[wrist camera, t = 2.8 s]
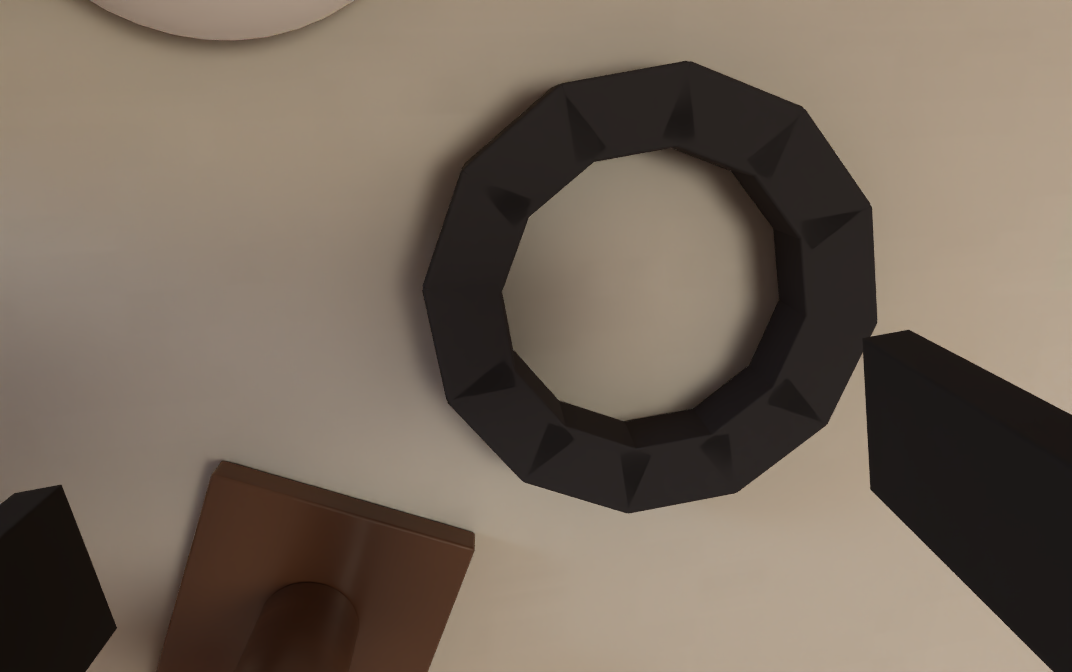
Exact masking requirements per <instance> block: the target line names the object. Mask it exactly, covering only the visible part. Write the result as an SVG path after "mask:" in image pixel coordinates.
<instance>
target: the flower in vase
mask: <svg viewBox="0 0 1072 672" xmlns="http://www.w3.org/2000/svg"><path fill="white" fill-rule="evenodd" d="M90 1H92V2H93V3H95V4H97V5H98V6H100V7H102V8H103V9H105V10H107V11H109V12H111V13H114V14H116V15H118V16H120V17H123V18H125V19H127V20H130V21H132V22H134V23H137V24H139V25H142V26H145V27H149V28H152V29H156V30H159V31H162V32H166V33H169V34H173V35H179V36H185V37H192V38H198V39H204V40H245V39H254V38H263V37H270V36H273V35H277V34H281V33H285V32H289V31H293V30H296V29H300V28H302V27H304V26H307V25H309V24H311V23H314V22H316V21H319V20H321V19H323V18H326V17H328V16H330V15H331V14H333V13H335V12H336V11H338V10H340V9H341V8H343V7H345V6H346V5H348V4H349V3H351V2H353V1H354V0H90Z"/></svg>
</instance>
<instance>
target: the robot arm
mask: <svg viewBox="0 0 1072 672" xmlns="http://www.w3.org/2000/svg"><path fill="white" fill-rule="evenodd" d="M862 340H863V359H864V377H865V396H866V415H867V433H868V452H869V470H870V489H871V490H872V491H873V492H874V493H875V494H876V495H877V496H878V497H879V498H880V499H881V500H882V501H883V502H884V503H885V504H886V505H887V506H888V507H889V508H890V509H891V510H892V511H893V512H894V513H895V514H896V515H897V516H898V517H899V518H900V519H901V520H902V521H903V522H904V523H905V524H906V525H907V526H908V527H909V528H910V529H911V530H912V531H913V532H914V533H915V534H916V535H917V536H918V537H919V538H920V539H921V540H922V541H923V542H924V543H925V544H926V545H927V546H928V547H929V548H930V549H931V550H932V551H933V552H934V553H935V554H936V555H937V556H938V557H939V558H940V559H941V560H942V561H943V562H944V563H945V564H946V565H947V566H948V567H949V568H950V569H951V570H952V571H953V572H954V573H955V574H956V575H957V576H958V577H959V578H960V579H961V580H962V581H963V582H964V583H965V584H966V585H967V586H968V587H969V588H970V589H971V590H972V591H973V592H974V593H975V594H976V595H977V596H978V597H979V598H980V599H981V600H982V601H983V602H984V603H985V604H986V605H987V606H988V607H989V608H990V609H991V610H992V611H993V612H994V613H995V614H996V615H997V616H998V617H999V618H1000V619H1001V620H1002V621H1003V622H1004V623H1005V624H1006V625H1007V626H1008V627H1009V628H1010V629H1011V630H1012V631H1013V632H1014V633H1015V634H1016V635H1017V636H1018V637H1019V638H1020V639H1021V640H1022V641H1023V642H1024V643H1025V644H1026V645H1027V646H1028V647H1029V648H1030V649H1031V650H1032V651H1033V652H1034V653H1035V654H1036V655H1037V656H1038V657H1039V658H1040V659H1041V660H1042V661H1043V662H1044V663H1045V664H1046V665H1047V666H1048V667H1049V668H1050V669H1051V670H1052V671H1053V672H1072V415H1071V414H1069V413H1067V412H1065V411H1063V410H1061V409H1059V408H1057V407H1055V406H1054V405H1052V404H1050V403H1048V402H1046V401H1044V400H1042V399H1040V398H1038V397H1036V396H1034V395H1033V394H1031V393H1029V392H1027V391H1025V390H1023V389H1021V388H1019V387H1017V386H1015V385H1013V384H1012V383H1010V382H1008V381H1006V380H1004V379H1002V378H1000V377H998V376H996V375H994V374H992V373H990V372H989V371H987V370H985V369H983V368H981V367H979V366H977V365H975V364H973V363H971V362H969V361H968V360H966V359H964V358H962V357H960V356H958V355H956V354H954V353H952V352H950V351H948V350H947V349H945V348H943V347H941V346H939V345H937V344H935V343H933V342H931V341H929V340H927V339H925V338H924V337H922V336H920V335H918V334H916V333H914V332H912V331H910V330H905V331H900V332H894V333H889V334H883V335H878V336H872V337H867V338H862ZM116 629H117V627H116V624H115V621H114V619H113V616H112V614H111V611H110V609H109V606H108V603H107V601H106V598H105V596H104V593H103V591H102V588H101V585H100V583H99V580H98V578H97V575H96V572H95V570H94V567H93V565H92V562H91V560H90V557H89V554H88V552H87V549H86V547H85V544H84V542H83V539H82V536H81V534H80V531H79V529H78V526H77V523H76V521H75V518H74V516H73V513H72V511H71V508H70V505H69V503H68V500H67V498H66V495H65V493H64V490H63V487H62V485H57V486H51V487H46V488H40V489H35V490H30V491H24V492H19V493H14V494H13V495H12V496H10V497H9V498H8V499H7V500H5V501H4V502H3V503H2V504H0V672H86V670H87V669H88V668H89V666H90V665H91V663H92V662H93V661H94V659H95V658H96V656H97V655H98V654H99V652H100V651H101V650H102V648H103V647H104V645H105V644H106V643H107V641H108V640H109V638H110V637H111V636H112V634H113V633H114V632H115V630H116Z"/></svg>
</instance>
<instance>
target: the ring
mask: <svg viewBox="0 0 1072 672" xmlns="http://www.w3.org/2000/svg"><path fill="white" fill-rule="evenodd" d="M667 148H673V149H676V150H678V151H681V152H684V153H686V154H689V155H691V156H694V157H697V158H699V159H702V160H704V161H707V162H710V163H712V164H715V165H717V166H720V167H722V168H725V169H728V170H730V171H731V172H732V173H733V174H734V176H735V177H736V178H737V180H738V181H739V182H740V184H741V185H742V187H743V188H744V189H745V191H746V192H747V193H748V195H749V196H750V197H751V199H752V200H753V201H754V203H755V204H756V206H757V207H758V208H759V210H760V211H761V212H762V214H763V215H764V216H765V218H766V219H767V220H768V222H769V223H770V224H771V226H772V227H773V229H774V241H775V253H776V265H777V277H778V288H779V301H778V304H777V306H776V308H775V310H774V312H773V315H772V317H771V319H770V321H769V323H768V326H767V328H766V330H765V332H764V334H763V337H762V339H761V341H760V343H759V345H758V348H757V350H756V352H755V354H754V356H753V358H752V361H751V363H750V365H749V366H748V367H747V368H745V369H744V370H743V371H741V372H740V373H739V374H738V375H736V376H735V377H734V378H732V379H731V380H730V381H729V382H727V383H726V384H725V385H723V386H722V387H721V388H720V389H718V390H717V391H716V392H714V393H713V394H712V395H711V396H709V397H708V398H707V399H705V400H704V401H703V402H702V403H700V404H699V405H698V406H696V407H695V408H694V409H691V410H685V411H680V412H675V413H669V414H664V415H659V416H653V417H648V418H643V419H637V420H632V421H627V422H623V421H620V420H617V419H614V418H611V417H607V416H604V415H601V414H598V413H595V412H592V411H589V410H586V409H583V408H580V407H576V406H573V405H570V404H567V403H564V402H561V401H559V400H558V399H557V398H556V397H555V396H554V395H553V394H552V392H551V391H550V390H549V389H548V388H547V387H546V386H545V385H544V384H543V382H542V381H541V380H540V379H539V378H538V377H537V376H536V375H535V373H534V372H533V371H532V370H531V369H530V368H529V367H528V366H527V365H526V363H525V362H524V361H523V360H522V359H521V358H520V357H519V356H518V355H517V353H516V352H515V351H514V350H513V347H512V342H511V336H510V331H509V326H508V321H507V315H506V310H505V305H504V300H503V295H502V290H503V287H504V284H505V282H506V279H507V276H508V273H509V271H510V268H511V265H512V262H513V260H514V257H515V254H516V251H517V249H518V246H519V243H520V240H521V237H522V235H523V232H524V229H525V226H526V224H527V221H528V218H529V217H530V216H531V215H532V214H533V213H534V212H535V211H537V210H538V209H539V208H540V207H541V206H542V205H544V204H545V203H546V202H547V201H548V200H550V199H551V198H552V197H553V196H554V195H555V194H557V193H558V192H559V191H560V190H561V189H563V188H564V187H565V186H566V185H567V184H568V183H570V182H571V181H572V180H573V179H574V178H575V177H577V176H578V175H579V174H580V173H581V172H583V171H584V170H585V169H586V168H587V167H588V166H590V165H591V164H592V163H593V162H596V161H601V160H607V159H612V158H618V157H623V156H629V155H634V154H640V153H645V152H651V151H656V150H662V149H667ZM422 291H423V296H424V300H425V305H426V309H427V314H428V318H429V323H430V327H431V332H432V336H433V341H434V345H435V350H436V355H437V359H438V364H439V368H440V373H441V377H442V382H443V386H444V391H445V395H446V399H447V401H448V404H449V405H450V406H451V407H452V408H453V409H454V410H455V411H456V412H457V413H458V414H459V415H460V416H461V417H462V418H463V419H464V420H465V421H466V422H467V424H468V425H469V426H470V427H471V428H472V429H473V430H474V431H475V432H476V433H477V434H478V435H479V436H480V437H481V438H482V439H483V440H484V441H485V442H486V444H487V445H488V446H489V447H490V448H491V449H492V450H493V451H494V452H495V453H496V454H497V455H498V456H499V457H500V458H501V459H502V460H503V461H504V462H505V464H506V465H507V466H508V467H509V468H510V469H511V470H512V471H513V472H514V473H515V474H516V475H517V476H518V477H519V478H520V479H521V480H522V481H523V482H525V483H528V484H532V485H535V486H538V487H542V488H545V489H548V490H551V491H555V492H558V493H561V494H565V495H568V496H571V497H575V498H578V499H581V500H585V501H588V502H591V503H594V504H598V505H601V506H604V507H608V508H611V509H614V510H618V511H621V512H624V513H633V512H639V511H644V510H649V509H655V508H660V507H665V506H670V505H676V504H681V503H686V502H691V501H697V500H702V499H707V498H713V497H718V496H723V495H728V494H734V493H736V492H738V491H740V490H741V489H742V488H744V487H745V486H746V485H748V484H749V483H750V482H752V481H753V480H754V479H756V478H757V477H758V476H760V475H761V474H762V473H764V472H765V471H766V470H768V469H769V468H770V467H772V466H773V465H774V464H776V463H777V462H778V461H779V460H781V459H782V458H783V457H785V456H786V455H787V454H789V453H790V452H791V451H793V450H794V449H795V448H797V447H798V446H799V445H801V444H802V443H803V442H805V441H806V440H807V439H809V438H810V437H811V436H813V435H814V434H815V433H817V432H818V431H819V430H821V429H822V428H823V427H825V426H826V425H827V424H828V422H829V420H830V418H831V415H832V413H833V411H834V409H835V407H836V405H837V403H838V401H839V399H840V397H841V395H842V393H843V391H844V389H845V387H846V385H847V383H848V381H849V379H850V377H851V375H852V373H853V371H854V369H855V367H856V365H857V363H858V361H859V359H860V357H861V355H862V353H863V340H862V338H867V337H870V336H871V334H872V332H873V330H874V328H875V326H876V324H877V304H876V283H875V261H874V240H873V219H872V207H871V206H870V203H869V201H868V200H867V198H866V197H865V195H864V194H863V192H862V191H861V190H860V188H859V187H858V185H857V184H856V182H855V181H854V179H853V178H852V176H851V175H850V174H849V172H848V171H847V169H846V168H845V166H844V165H843V163H842V162H841V161H840V159H839V158H838V156H837V155H836V153H835V152H834V150H833V149H832V147H831V146H830V145H829V143H828V142H827V140H826V139H825V137H824V136H823V134H822V133H821V131H820V130H819V129H818V127H817V126H816V124H815V123H814V121H813V120H812V118H811V117H810V115H809V114H808V113H807V111H806V110H805V109H804V108H803V107H802V106H800V105H797V104H795V103H792V102H790V101H787V100H785V99H782V98H780V97H777V96H775V95H772V94H770V93H768V92H765V91H763V90H760V89H758V88H755V87H753V86H750V85H748V84H745V83H743V82H741V81H738V80H736V79H733V78H731V77H728V76H726V75H723V74H721V73H718V72H716V71H714V70H711V69H709V68H706V67H704V66H701V65H699V64H696V63H694V62H691V61H690V62H688V61H683V62H677V63H672V64H666V65H661V66H655V67H649V68H644V69H638V70H633V71H627V72H622V73H616V74H611V75H605V76H600V77H594V78H589V79H583V80H578V81H572V82H566V83H562V84H559V85H556V86H555V87H552V88H551V89H549V90H548V91H547V92H546V93H545V94H544V95H543V96H541V97H540V98H539V99H538V100H537V101H536V102H535V103H533V104H532V105H531V106H530V107H529V108H528V109H527V110H525V111H524V112H523V113H522V114H521V115H520V116H519V117H517V118H516V119H515V120H514V121H513V122H512V123H511V124H509V125H508V126H507V127H506V128H505V129H504V130H503V131H501V132H500V133H499V134H498V135H497V136H496V137H495V138H493V139H492V140H491V141H490V142H489V143H488V144H487V145H485V146H484V147H483V148H482V149H481V150H480V151H478V152H477V153H476V154H475V155H474V156H473V157H472V158H470V159H469V160H468V161H467V162H466V163H465V164H464V166H463V167H462V170H461V173H460V175H459V178H458V181H457V184H456V187H455V190H454V193H453V196H452V199H451V202H450V205H449V208H448V211H447V214H446V217H445V220H444V223H443V226H442V229H441V232H440V235H439V238H438V241H437V244H436V247H435V250H434V253H433V256H432V259H431V262H430V265H429V268H428V271H427V274H426V277H425V280H424V283H423V290H422Z"/></svg>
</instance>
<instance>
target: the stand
mask: <svg viewBox="0 0 1072 672" xmlns="http://www.w3.org/2000/svg"><path fill="white" fill-rule="evenodd" d="M474 551H475V534H474V533H473V532H469V531H466V530H462V529H459V528H455V527H452V526H449V525H445V524H442V523H438V522H435V521H431V520H428V519H424V518H421V517H417V516H414V515H410V514H407V513H403V512H400V511H396V510H393V509H389V508H386V507H383V506H379V505H376V504H372V503H369V502H365V501H362V500H358V499H355V498H351V497H348V496H344V495H341V494H337V493H334V492H330V491H327V490H324V489H320V488H317V487H313V486H310V485H306V484H303V483H299V482H296V481H292V480H289V479H285V478H282V477H278V476H275V475H271V474H268V473H265V472H261V471H258V470H254V469H251V468H247V467H244V466H240V465H237V464H233V463H230V462H226V461H222V462H221V463H220V464H219V465H218V467H217V468H216V470H215V471H214V472H213V474H212V475H211V478H210V481H209V485H208V488H207V492H206V496H205V499H204V503H203V506H202V510H201V513H200V517H199V521H198V524H197V528H196V531H195V535H194V538H193V542H192V545H191V549H190V553H189V556H188V560H187V563H186V567H185V570H184V574H183V577H182V581H181V585H180V588H179V592H178V595H177V599H176V602H175V606H174V610H173V613H172V617H171V620H170V624H169V627H168V631H167V634H166V638H165V642H164V645H163V649H162V652H161V656H160V659H159V663H158V667H157V670H156V672H428V670H429V667H430V665H431V662H432V659H433V657H434V654H435V652H436V649H437V647H438V644H439V641H440V639H441V636H442V634H443V631H444V628H445V626H446V623H447V621H448V618H449V615H450V613H451V610H452V608H453V605H454V602H455V600H456V597H457V595H458V592H459V589H460V587H461V584H462V582H463V579H464V577H465V574H466V571H467V569H468V566H469V564H470V561H471V558H472V556H473V553H474Z"/></svg>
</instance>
